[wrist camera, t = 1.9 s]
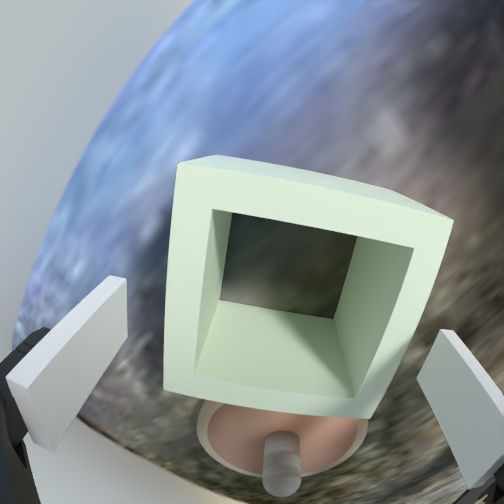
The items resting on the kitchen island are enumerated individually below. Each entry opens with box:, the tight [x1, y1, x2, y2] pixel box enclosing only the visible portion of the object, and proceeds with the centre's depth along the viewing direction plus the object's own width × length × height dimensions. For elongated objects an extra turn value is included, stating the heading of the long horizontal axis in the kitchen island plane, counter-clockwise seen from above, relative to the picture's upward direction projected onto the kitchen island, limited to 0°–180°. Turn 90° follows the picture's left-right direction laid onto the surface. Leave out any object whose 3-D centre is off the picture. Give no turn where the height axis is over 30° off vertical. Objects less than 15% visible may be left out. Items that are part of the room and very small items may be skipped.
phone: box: [453, 476, 496, 504], centre depth 33 cm, size 7×1×15 cm
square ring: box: [163, 155, 454, 419], centre depth 17 cm, size 11×11×8 cm
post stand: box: [196, 399, 368, 497], centre depth 22 cm, size 15×15×8 cm
